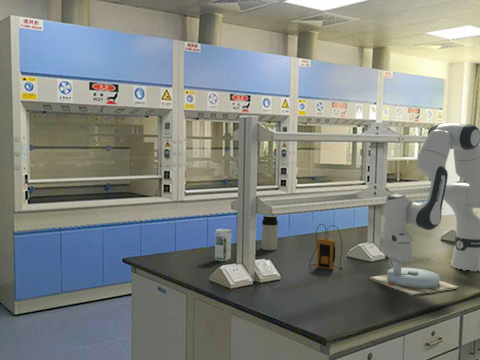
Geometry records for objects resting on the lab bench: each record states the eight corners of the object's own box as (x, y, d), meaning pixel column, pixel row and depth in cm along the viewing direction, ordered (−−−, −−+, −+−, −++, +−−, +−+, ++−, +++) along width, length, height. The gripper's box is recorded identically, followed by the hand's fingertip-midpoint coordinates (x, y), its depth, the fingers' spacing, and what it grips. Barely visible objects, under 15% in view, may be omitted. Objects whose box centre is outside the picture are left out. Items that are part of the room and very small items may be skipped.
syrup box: (214, 260, 237) (214, 229, 236) (220, 257, 242) (221, 228, 241) (225, 262, 234) (225, 231, 233) (231, 259, 240) (231, 229, 238)
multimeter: (347, 266, 231) (348, 223, 229) (339, 271, 222) (341, 226, 220) (316, 262, 238) (318, 220, 236) (308, 266, 230) (310, 222, 228)
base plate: (413, 273, 220) (413, 270, 220) (458, 289, 199) (458, 285, 199) (369, 279, 210) (369, 275, 210) (411, 296, 189) (412, 292, 188)
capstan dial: (422, 273, 216) (423, 253, 215) (449, 287, 196) (451, 264, 196) (378, 274, 212) (379, 254, 212) (402, 289, 193) (403, 266, 192)
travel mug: (273, 251, 258) (274, 216, 257) (259, 249, 262) (260, 215, 260) (279, 248, 265) (280, 214, 264) (265, 246, 269) (266, 213, 267)
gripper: (375, 229, 214) (374, 261, 216) (399, 239, 194) (398, 274, 196) (389, 229, 216) (388, 261, 217) (414, 239, 196) (413, 274, 197)
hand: (393, 267), depth 206 cm, fingers closed
